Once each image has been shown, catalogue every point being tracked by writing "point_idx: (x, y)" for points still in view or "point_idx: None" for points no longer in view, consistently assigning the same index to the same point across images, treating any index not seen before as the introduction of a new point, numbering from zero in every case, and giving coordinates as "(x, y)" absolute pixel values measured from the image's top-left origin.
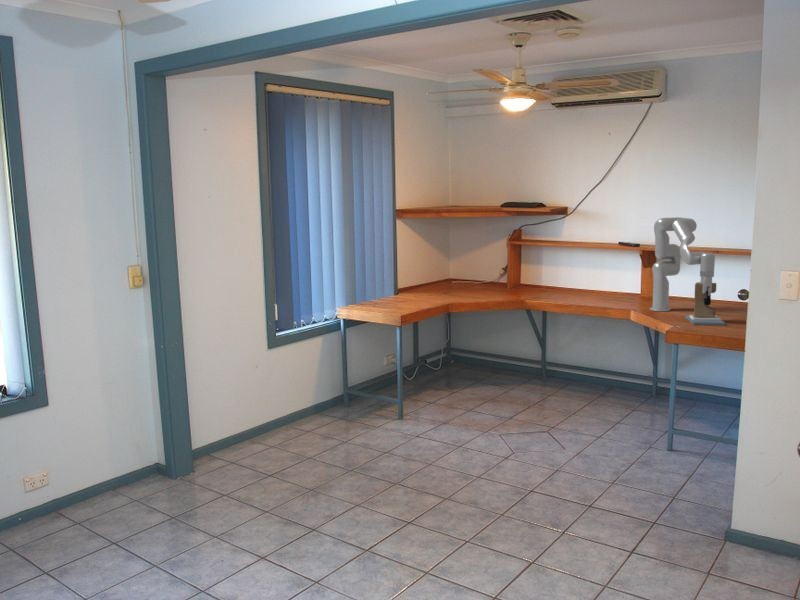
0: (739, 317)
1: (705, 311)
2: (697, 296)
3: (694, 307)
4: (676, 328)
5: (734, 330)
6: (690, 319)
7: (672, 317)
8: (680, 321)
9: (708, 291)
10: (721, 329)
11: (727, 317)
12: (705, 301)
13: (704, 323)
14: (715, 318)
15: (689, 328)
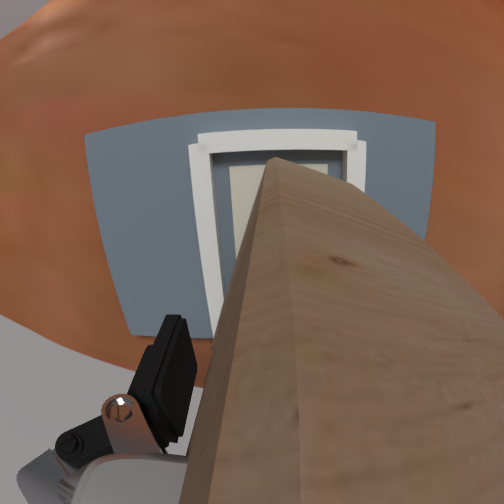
0: None
1: (231, 278)
2: (231, 304)
3: (271, 171)
4: (4, 55)
5: (41, 324)
6: (212, 115)
7: (412, 32)
8: (233, 42)
9: (19, 486)
10: (33, 279)
11: None
12: (157, 353)
13: (100, 213)
14: (214, 314)
15: (7, 118)
